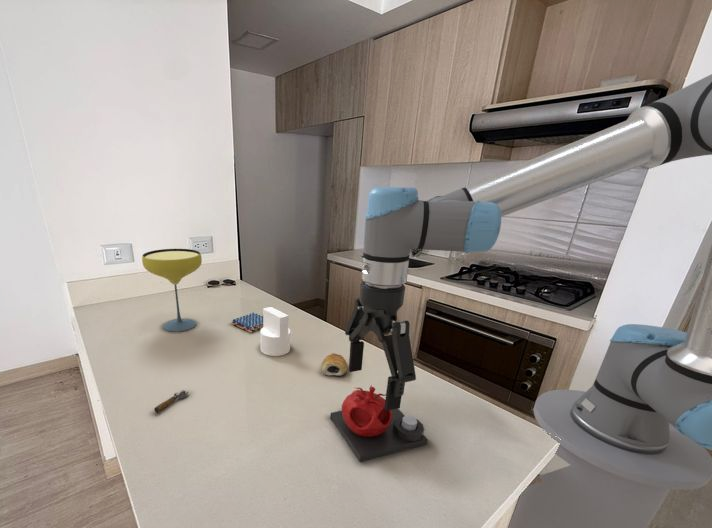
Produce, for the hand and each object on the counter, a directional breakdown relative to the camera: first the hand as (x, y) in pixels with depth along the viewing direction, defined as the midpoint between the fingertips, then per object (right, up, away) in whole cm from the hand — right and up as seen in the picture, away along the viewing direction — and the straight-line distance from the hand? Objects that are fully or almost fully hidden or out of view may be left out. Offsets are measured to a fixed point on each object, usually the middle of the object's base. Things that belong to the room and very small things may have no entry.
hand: (371, 387), depth 66 cm
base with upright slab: (-21, +4, +37) cm, 43 cm away
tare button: (+8, -8, +2) cm, 12 cm away
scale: (+2, -10, +4) cm, 11 cm away
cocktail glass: (-55, +10, +52) cm, 76 cm away
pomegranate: (-1, -9, +4) cm, 10 cm away
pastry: (-4, -1, +27) cm, 27 cm away
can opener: (-43, -6, +11) cm, 45 cm away
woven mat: (-30, +11, +54) cm, 63 cm away
